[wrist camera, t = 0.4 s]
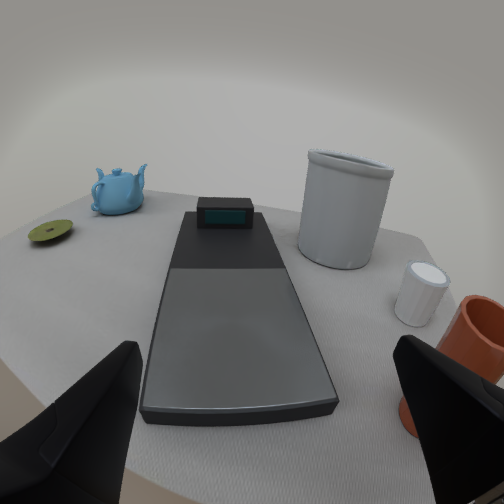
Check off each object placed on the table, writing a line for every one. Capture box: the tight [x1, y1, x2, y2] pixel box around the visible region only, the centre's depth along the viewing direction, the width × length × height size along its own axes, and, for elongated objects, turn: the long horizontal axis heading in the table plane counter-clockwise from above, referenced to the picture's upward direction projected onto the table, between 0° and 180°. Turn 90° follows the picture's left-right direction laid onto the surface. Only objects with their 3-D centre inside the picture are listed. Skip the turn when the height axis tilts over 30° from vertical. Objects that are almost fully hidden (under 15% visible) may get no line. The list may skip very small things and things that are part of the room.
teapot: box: [91, 164, 147, 215], centre depth 61 cm, size 15×15×10 cm
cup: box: [399, 295, 504, 438], centre depth 16 cm, size 7×7×12 cm
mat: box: [28, 220, 73, 241], centre depth 46 cm, size 11×11×2 cm
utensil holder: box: [298, 149, 394, 269], centre depth 45 cm, size 15×15×18 cm
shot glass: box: [394, 260, 450, 327], centre depth 31 cm, size 7×7×7 cm
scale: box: [139, 197, 339, 426], centre depth 37 cm, size 44×16×6 cm, turn 7°
